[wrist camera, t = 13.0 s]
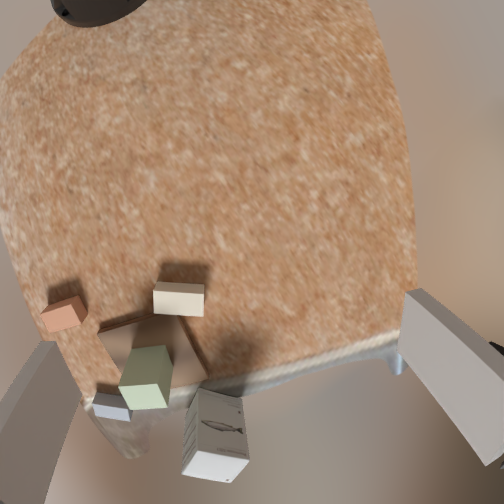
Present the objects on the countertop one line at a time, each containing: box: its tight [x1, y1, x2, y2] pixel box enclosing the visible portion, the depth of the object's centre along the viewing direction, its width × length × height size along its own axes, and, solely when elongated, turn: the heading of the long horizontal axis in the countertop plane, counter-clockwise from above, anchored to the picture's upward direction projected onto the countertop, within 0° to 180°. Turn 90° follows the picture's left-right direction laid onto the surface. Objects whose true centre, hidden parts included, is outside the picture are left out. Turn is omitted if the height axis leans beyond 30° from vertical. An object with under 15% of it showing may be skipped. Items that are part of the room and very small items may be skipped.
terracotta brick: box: [40, 295, 88, 333], centre depth 36 cm, size 6×3×3 cm, turn 107°
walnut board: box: [97, 313, 209, 389], centre depth 40 cm, size 12×12×1 cm
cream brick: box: [153, 281, 205, 317], centre depth 37 cm, size 6×3×3 cm, turn 84°
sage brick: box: [118, 345, 173, 410], centre depth 36 cm, size 4×5×8 cm
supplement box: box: [181, 388, 250, 483], centre depth 39 cm, size 7×7×13 cm
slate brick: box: [92, 392, 133, 421], centre depth 41 cm, size 6×3×3 cm, turn 85°
